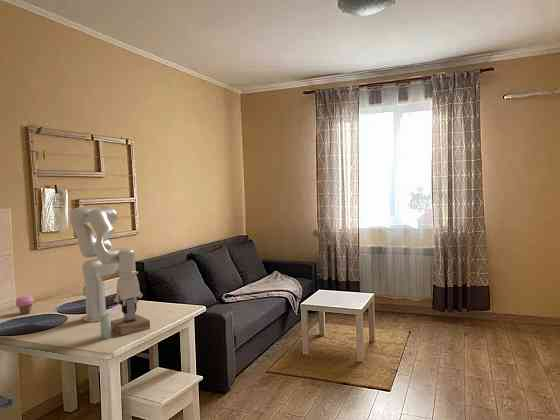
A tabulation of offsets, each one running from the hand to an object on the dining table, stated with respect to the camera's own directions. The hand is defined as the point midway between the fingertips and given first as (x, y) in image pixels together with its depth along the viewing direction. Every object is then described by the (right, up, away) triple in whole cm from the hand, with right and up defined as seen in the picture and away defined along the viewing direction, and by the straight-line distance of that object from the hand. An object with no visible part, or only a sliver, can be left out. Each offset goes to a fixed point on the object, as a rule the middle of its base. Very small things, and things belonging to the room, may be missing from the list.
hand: (129, 312), depth 205 cm
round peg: (-7, -9, -11) cm, 16 cm away
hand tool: (-27, -7, +43) cm, 51 cm away
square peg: (0, -3, 0) cm, 3 cm away
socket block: (0, -8, +1) cm, 8 cm away
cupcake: (-70, -9, +32) cm, 77 cm away
